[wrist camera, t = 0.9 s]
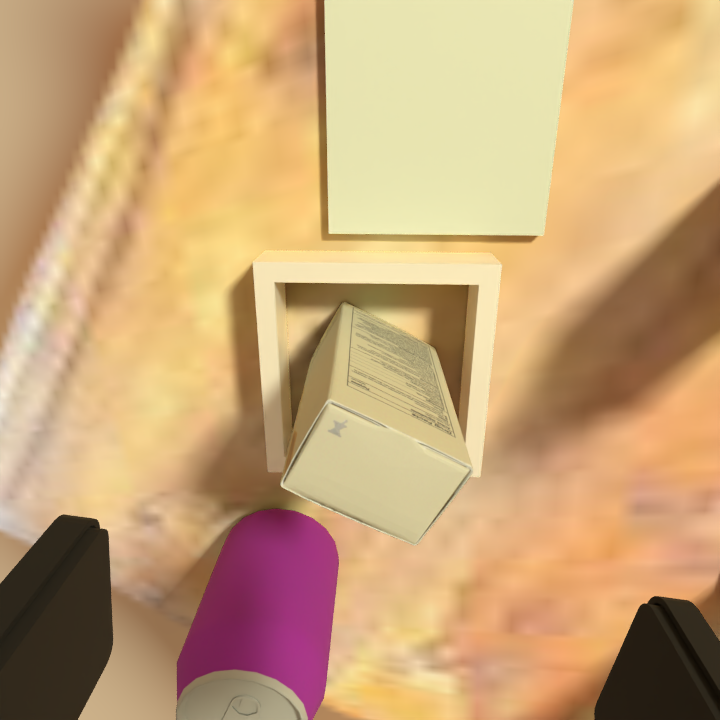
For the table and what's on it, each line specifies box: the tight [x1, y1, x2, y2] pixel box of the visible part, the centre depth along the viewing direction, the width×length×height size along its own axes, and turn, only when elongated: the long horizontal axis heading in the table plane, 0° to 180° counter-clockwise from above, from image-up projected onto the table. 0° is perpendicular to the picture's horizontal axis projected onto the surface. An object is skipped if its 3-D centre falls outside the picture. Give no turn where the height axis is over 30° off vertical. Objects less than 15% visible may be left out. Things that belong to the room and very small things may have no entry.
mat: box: [324, 0, 574, 236], centre depth 26 cm, size 12×11×1 cm
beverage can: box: [176, 509, 339, 720], centre depth 31 cm, size 8×8×12 cm
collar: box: [253, 250, 502, 477], centre depth 30 cm, size 12×12×3 cm
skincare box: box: [280, 302, 473, 545], centre depth 26 cm, size 6×4×12 cm
